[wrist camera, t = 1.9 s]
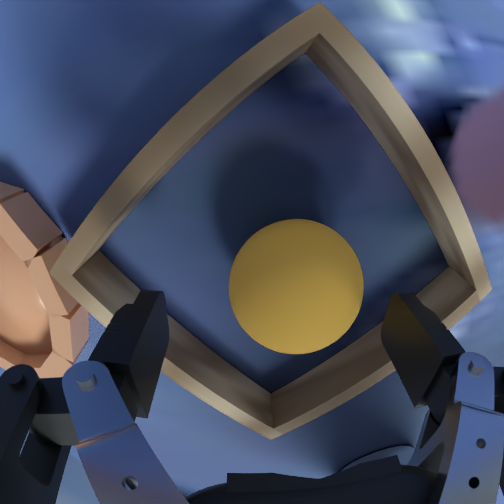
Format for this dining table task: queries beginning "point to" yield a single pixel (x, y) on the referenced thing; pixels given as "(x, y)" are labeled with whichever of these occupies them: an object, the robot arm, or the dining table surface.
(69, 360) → the bowl
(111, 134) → the dining table surface
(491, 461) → the robot arm
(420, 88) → the dining table surface
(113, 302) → the corral
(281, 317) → the ball
